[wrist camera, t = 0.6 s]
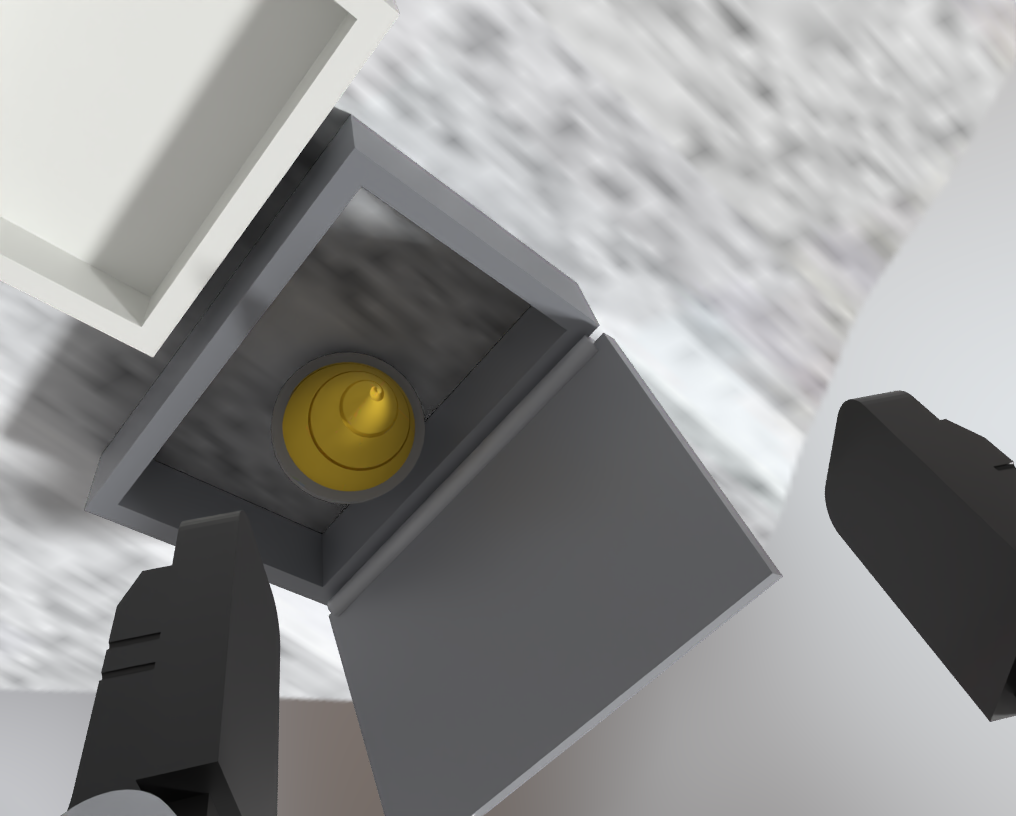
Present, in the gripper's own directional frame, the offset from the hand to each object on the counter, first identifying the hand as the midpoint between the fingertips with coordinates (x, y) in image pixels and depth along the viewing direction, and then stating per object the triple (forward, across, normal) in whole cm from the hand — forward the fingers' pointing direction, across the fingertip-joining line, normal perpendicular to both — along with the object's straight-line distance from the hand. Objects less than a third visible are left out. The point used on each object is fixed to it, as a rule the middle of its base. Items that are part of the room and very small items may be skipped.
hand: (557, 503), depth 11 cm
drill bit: (+20, +4, +8) cm, 22 cm away
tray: (+19, +8, -3) cm, 21 cm away
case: (+19, +4, +8) cm, 21 cm away
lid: (+11, 0, +13) cm, 17 cm away
